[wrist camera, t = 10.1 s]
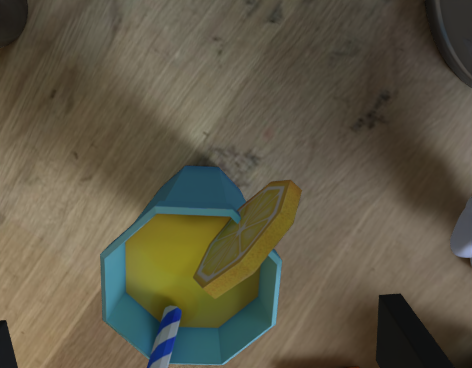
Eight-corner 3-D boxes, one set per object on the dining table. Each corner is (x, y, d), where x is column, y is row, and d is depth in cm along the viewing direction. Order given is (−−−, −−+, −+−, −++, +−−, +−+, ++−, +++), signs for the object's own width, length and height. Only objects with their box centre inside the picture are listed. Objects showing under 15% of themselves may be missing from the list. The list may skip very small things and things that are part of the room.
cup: (204, 322, 30) (192, 568, 16) (98, 281, 29) (-19, 507, 15) (299, 144, 27) (393, 252, 12) (183, 88, 25) (139, 137, 11)
